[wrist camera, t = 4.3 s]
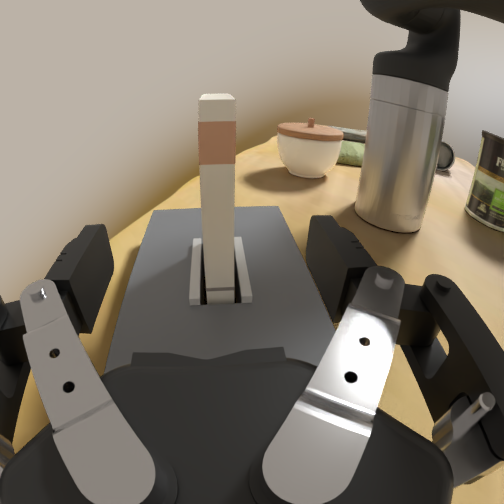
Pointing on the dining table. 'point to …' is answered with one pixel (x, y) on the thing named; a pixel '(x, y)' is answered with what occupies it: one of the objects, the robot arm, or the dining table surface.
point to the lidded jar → (308, 148)
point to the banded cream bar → (217, 193)
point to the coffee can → (488, 183)
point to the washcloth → (351, 153)
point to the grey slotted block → (220, 315)
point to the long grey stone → (352, 134)
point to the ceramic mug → (445, 157)
